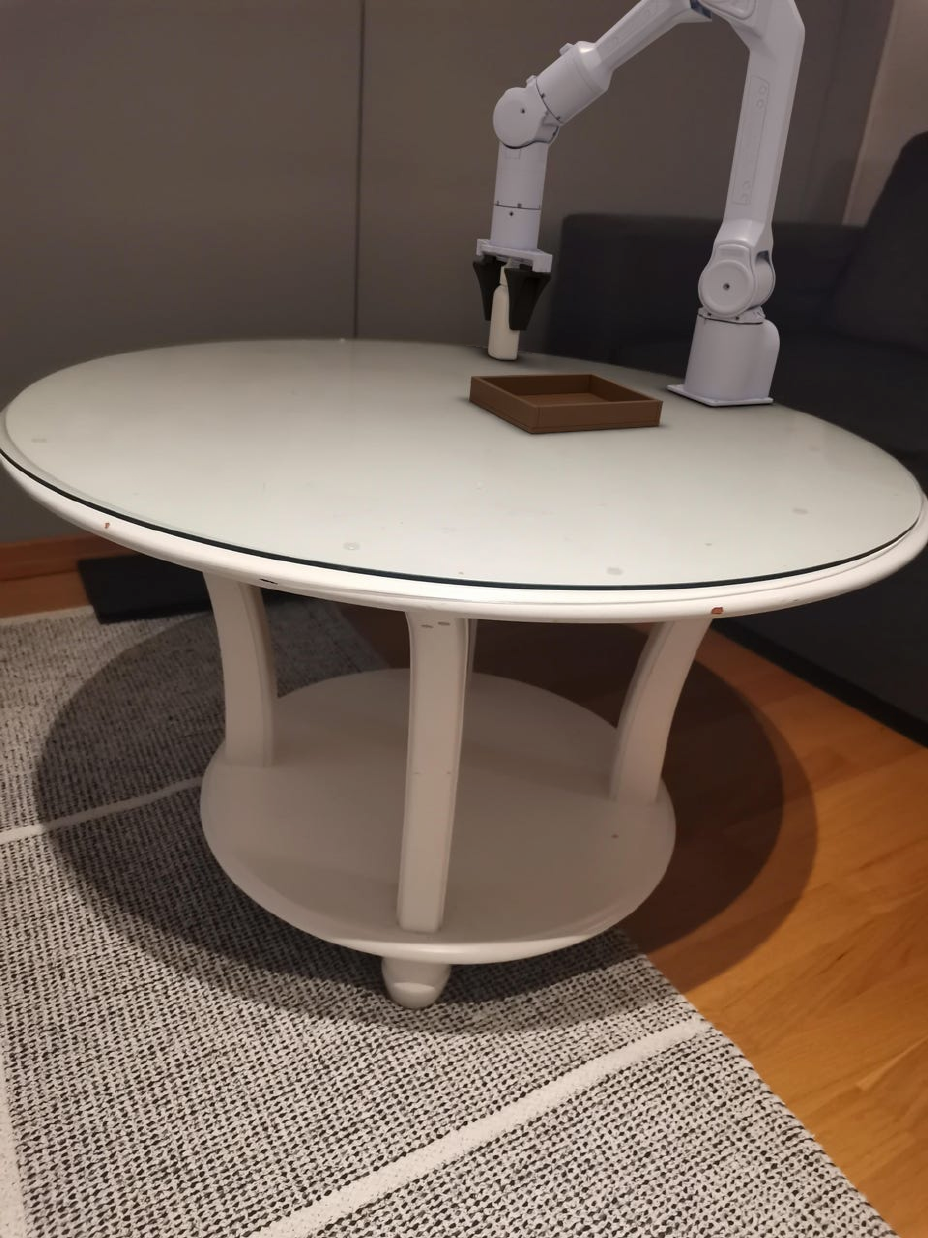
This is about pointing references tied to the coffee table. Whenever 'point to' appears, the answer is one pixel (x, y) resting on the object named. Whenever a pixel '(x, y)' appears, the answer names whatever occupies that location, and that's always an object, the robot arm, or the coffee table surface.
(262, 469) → the coffee table surface
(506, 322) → the eye dropper bottle
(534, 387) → the tray
